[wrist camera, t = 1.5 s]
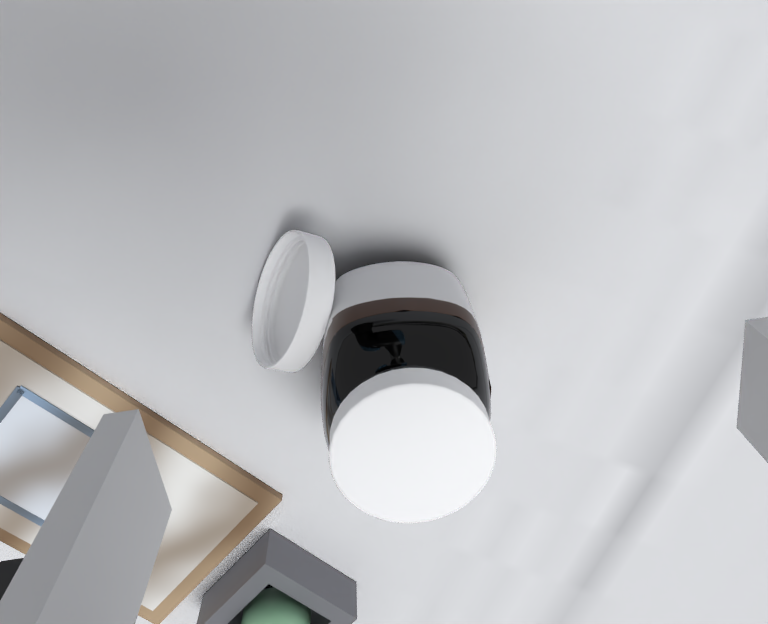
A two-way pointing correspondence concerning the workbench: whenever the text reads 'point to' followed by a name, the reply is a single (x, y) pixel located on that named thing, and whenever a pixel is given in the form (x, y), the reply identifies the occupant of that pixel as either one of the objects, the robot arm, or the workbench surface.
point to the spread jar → (384, 375)
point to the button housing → (281, 584)
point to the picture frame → (67, 442)
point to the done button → (275, 609)
